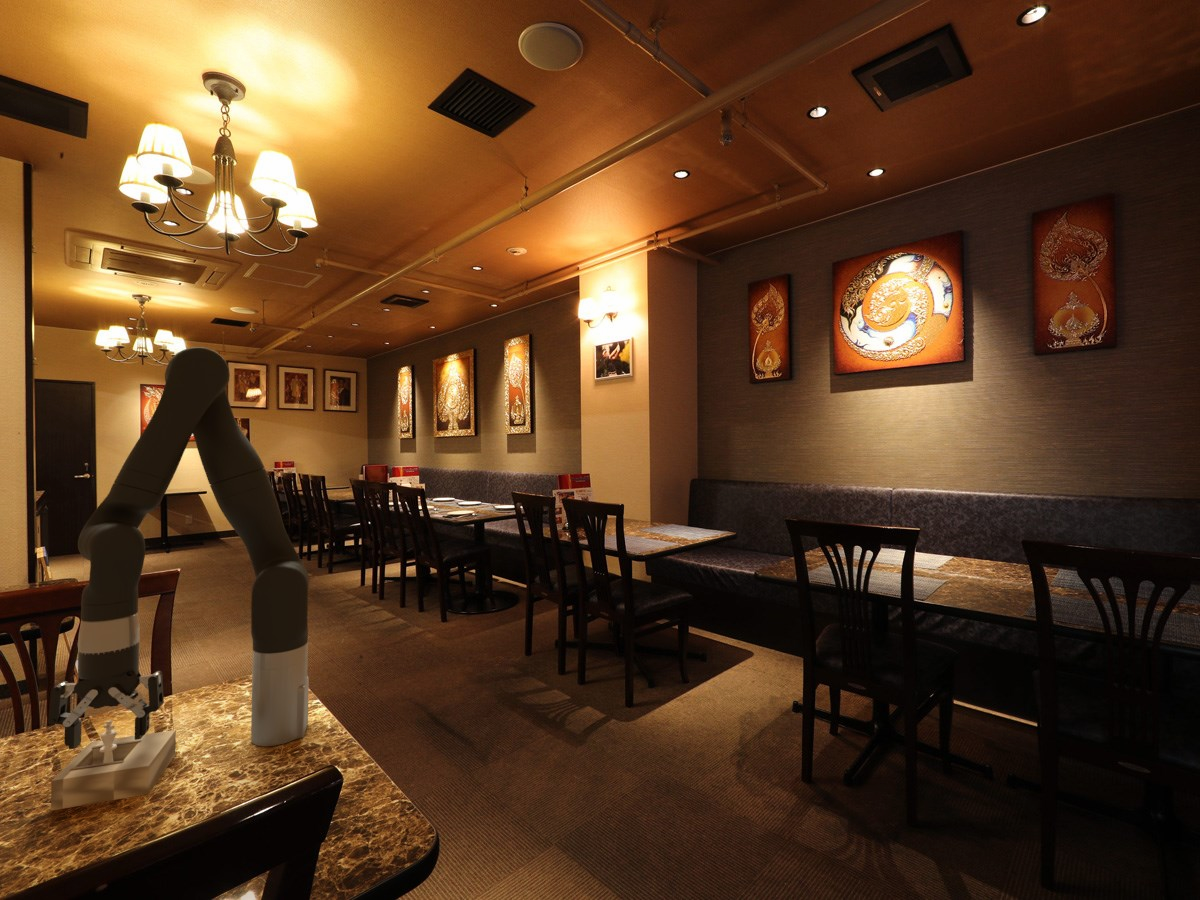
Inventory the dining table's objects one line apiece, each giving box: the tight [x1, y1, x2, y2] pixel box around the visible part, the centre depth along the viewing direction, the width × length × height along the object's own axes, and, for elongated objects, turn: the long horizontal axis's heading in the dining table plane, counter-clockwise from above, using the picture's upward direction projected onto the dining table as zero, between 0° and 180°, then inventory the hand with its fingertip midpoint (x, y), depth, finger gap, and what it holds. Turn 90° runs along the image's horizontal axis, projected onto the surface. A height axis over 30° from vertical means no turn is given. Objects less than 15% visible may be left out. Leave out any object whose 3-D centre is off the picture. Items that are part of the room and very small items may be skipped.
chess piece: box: [100, 720, 118, 763], centre depth 91 cm, size 5×5×10 cm
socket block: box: [50, 729, 177, 811], centre depth 91 cm, size 12×12×5 cm
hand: (107, 742), depth 91 cm, fingers open, 8 cm apart
